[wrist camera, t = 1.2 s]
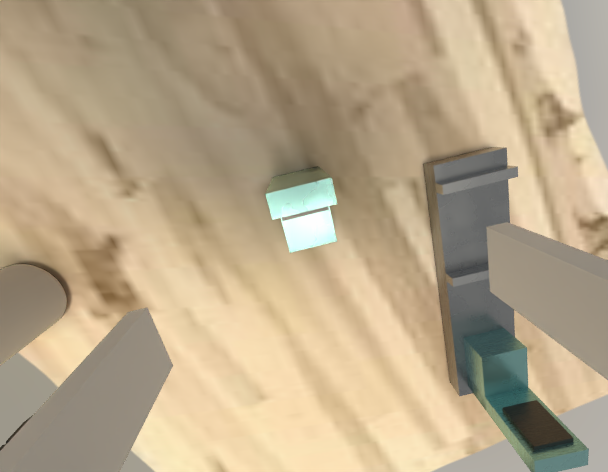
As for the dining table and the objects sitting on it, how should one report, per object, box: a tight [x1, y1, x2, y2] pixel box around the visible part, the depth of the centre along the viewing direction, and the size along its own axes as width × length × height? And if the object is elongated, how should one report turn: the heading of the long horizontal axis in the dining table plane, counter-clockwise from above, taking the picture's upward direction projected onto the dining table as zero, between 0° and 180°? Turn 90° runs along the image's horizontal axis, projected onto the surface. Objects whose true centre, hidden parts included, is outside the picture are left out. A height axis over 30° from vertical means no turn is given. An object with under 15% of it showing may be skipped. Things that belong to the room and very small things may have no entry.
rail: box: [423, 147, 589, 472], centre depth 25 cm, size 24×6×11 cm, turn 13°
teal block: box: [265, 166, 337, 253], centre depth 23 cm, size 6×4×9 cm, turn 13°
